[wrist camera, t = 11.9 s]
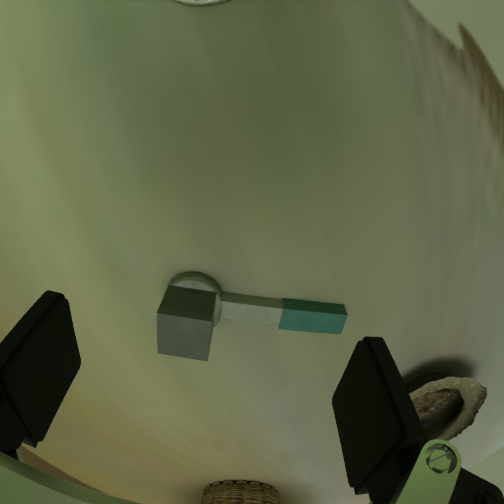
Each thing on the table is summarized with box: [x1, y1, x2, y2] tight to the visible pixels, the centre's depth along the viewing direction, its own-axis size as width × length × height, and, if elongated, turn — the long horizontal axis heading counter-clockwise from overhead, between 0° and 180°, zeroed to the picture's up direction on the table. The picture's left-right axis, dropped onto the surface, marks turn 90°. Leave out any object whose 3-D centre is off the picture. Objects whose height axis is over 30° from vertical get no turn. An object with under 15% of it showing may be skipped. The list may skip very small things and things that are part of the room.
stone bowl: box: [406, 373, 487, 441], centre depth 51 cm, size 25×25×9 cm
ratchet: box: [166, 272, 348, 334], centre depth 41 cm, size 8×25×7 cm, turn 81°
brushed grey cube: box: [157, 285, 217, 361], centre depth 39 cm, size 6×6×6 cm
